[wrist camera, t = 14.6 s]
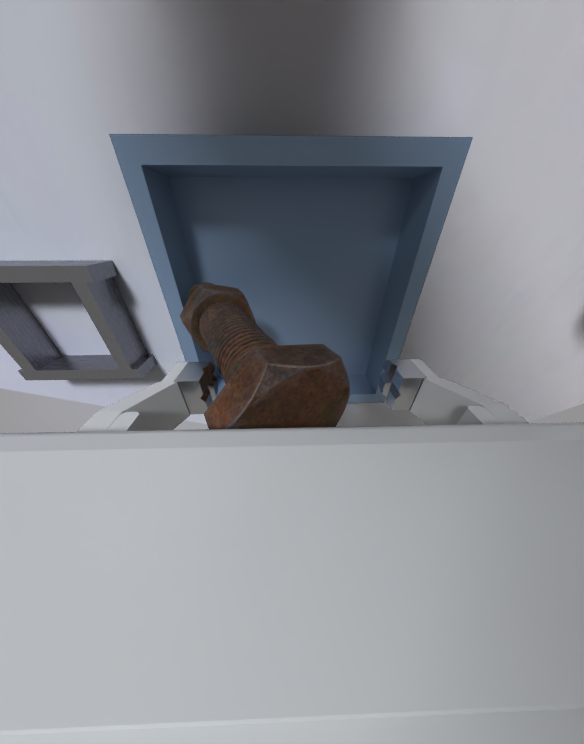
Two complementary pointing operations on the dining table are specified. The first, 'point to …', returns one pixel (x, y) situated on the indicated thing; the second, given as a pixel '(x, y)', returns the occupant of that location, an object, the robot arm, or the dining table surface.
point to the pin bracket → (104, 305)
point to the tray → (297, 232)
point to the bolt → (262, 368)
